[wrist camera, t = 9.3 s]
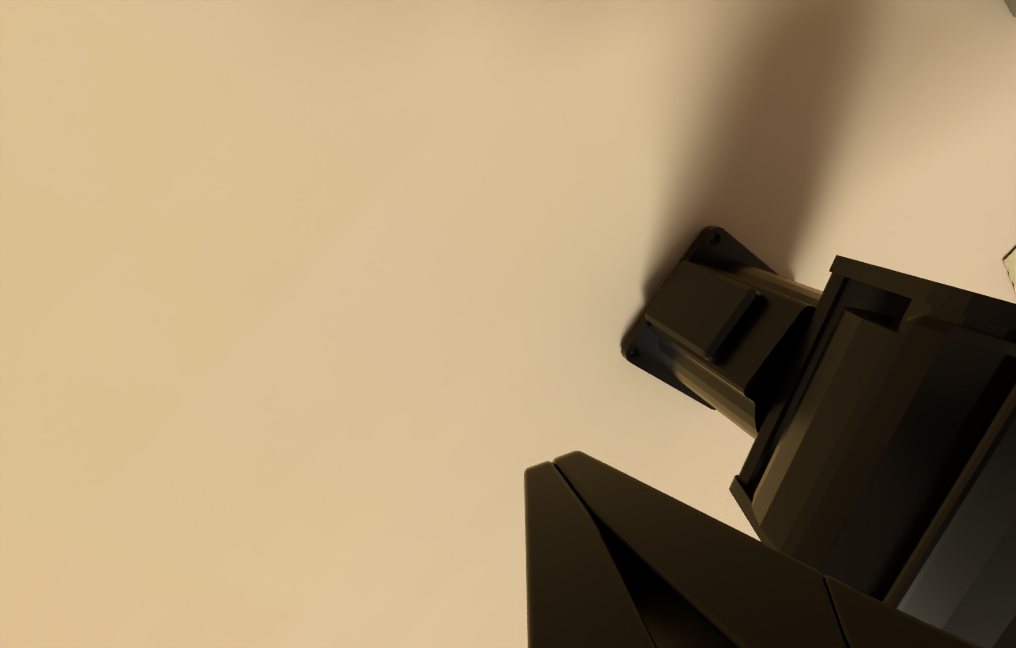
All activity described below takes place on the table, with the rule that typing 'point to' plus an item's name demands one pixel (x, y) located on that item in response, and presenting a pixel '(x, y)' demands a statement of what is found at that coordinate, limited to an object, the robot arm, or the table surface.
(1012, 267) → the condiment
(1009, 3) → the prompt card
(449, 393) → the table surface
